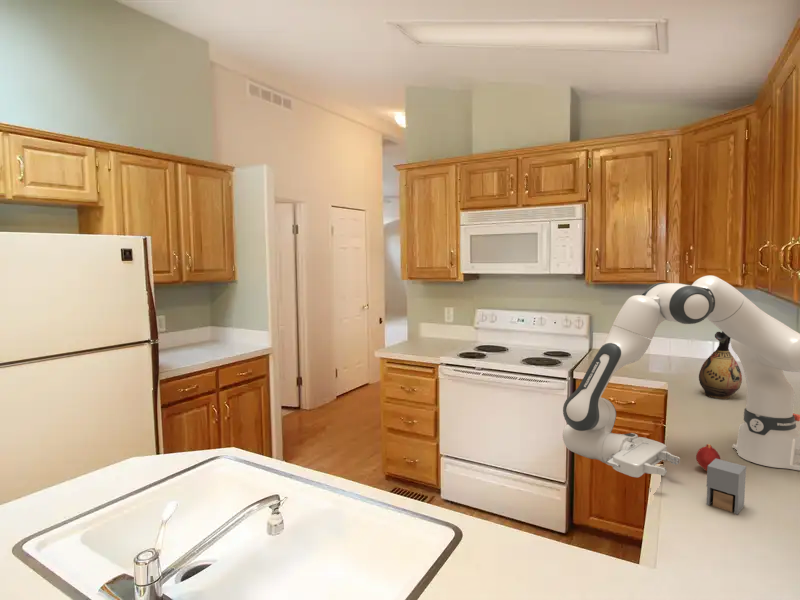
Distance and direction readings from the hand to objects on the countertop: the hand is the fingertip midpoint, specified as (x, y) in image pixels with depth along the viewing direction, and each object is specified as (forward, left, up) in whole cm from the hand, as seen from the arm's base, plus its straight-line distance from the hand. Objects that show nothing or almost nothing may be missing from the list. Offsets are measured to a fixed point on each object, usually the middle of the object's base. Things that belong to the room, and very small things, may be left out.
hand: (672, 466), depth 127 cm
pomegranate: (-19, -3, -6) cm, 20 cm away
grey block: (-4, +11, -6) cm, 13 cm away
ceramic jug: (-96, -48, -6) cm, 107 cm away
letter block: (-4, +11, -6) cm, 13 cm away
